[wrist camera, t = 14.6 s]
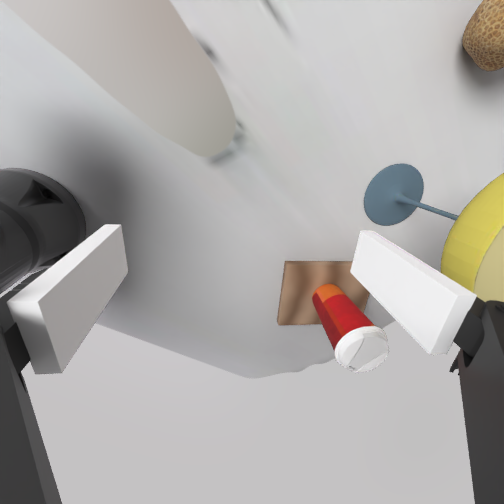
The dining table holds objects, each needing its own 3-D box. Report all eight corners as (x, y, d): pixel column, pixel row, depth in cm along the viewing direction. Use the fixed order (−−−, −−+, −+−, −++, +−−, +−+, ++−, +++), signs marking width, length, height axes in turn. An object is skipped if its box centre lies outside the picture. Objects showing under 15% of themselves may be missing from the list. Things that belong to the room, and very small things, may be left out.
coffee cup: (327, 318, 53) (365, 381, 39) (298, 302, 50) (327, 364, 37) (355, 289, 51) (405, 345, 37) (325, 270, 48) (367, 324, 34)
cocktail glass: (406, 113, 39) (658, 85, 17) (460, 188, 46) (693, 241, 23) (322, 203, 44) (433, 275, 21) (382, 260, 50) (515, 361, 28)
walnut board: (277, 320, 53) (278, 325, 52) (285, 261, 48) (286, 264, 46) (356, 318, 56) (360, 322, 55) (373, 261, 50) (377, 265, 49)
